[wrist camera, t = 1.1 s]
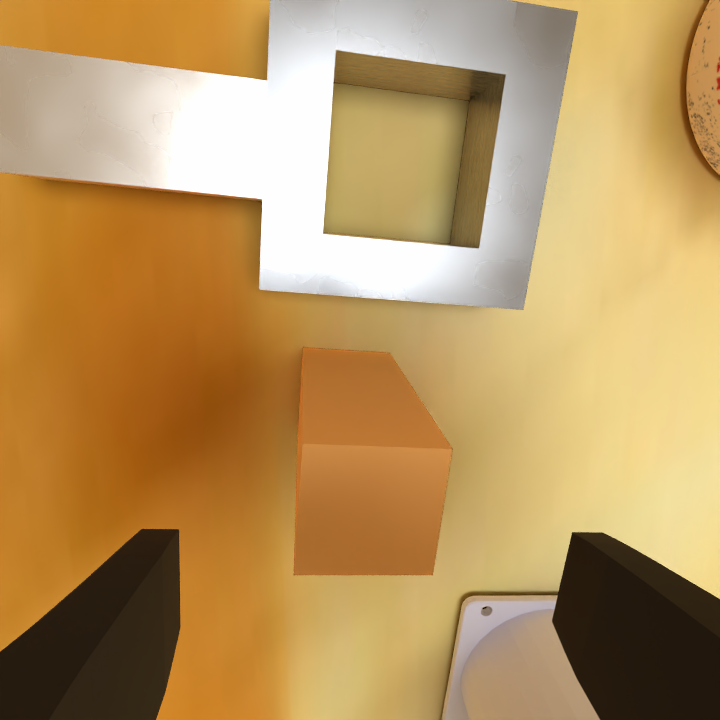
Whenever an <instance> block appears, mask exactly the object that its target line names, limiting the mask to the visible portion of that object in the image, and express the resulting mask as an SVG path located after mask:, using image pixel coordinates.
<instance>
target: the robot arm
mask: <svg viewBox="0 0 720 720" xmlns="http://www.w3.org/2000/svg"><path fill="white" fill-rule="evenodd" d="M486 606H488V607H487V608H486V609H482V608H484V607H486ZM179 631H180V569H179V529H141V530H140V531H139V532H138V533H137V534H136V535H134V536H133V537H132V538H131V539H130V540H129V541H128V542H126V543H125V544H124V545H123V546H122V547H121V548H120V549H119V550H118V551H116V552H115V553H114V554H113V555H112V556H111V557H110V558H109V559H108V560H107V561H106V562H104V563H103V564H102V565H101V566H100V567H99V568H98V569H97V570H96V571H95V572H93V573H92V574H91V575H90V576H89V577H88V578H87V579H86V580H85V581H83V582H82V583H81V584H80V585H79V586H78V587H77V588H76V589H74V590H73V591H72V592H71V593H70V594H69V595H67V596H66V597H65V598H64V599H63V600H62V601H61V602H59V603H58V604H57V605H56V606H55V607H54V608H53V609H51V610H50V611H49V612H48V613H47V614H46V615H44V616H43V617H42V618H41V619H40V620H39V621H38V622H36V623H35V624H34V625H33V626H32V627H30V628H29V629H28V630H27V631H26V632H24V633H23V634H22V635H21V636H19V637H18V638H17V639H16V640H14V641H13V642H12V643H11V644H9V645H8V646H7V647H6V648H4V649H3V650H2V651H1V652H0V720H156V718H157V715H158V712H159V709H160V706H161V703H162V700H163V697H164V694H165V691H166V687H167V683H168V679H169V675H170V670H171V666H172V662H173V658H174V653H175V649H176V644H177V640H178V636H179ZM442 720H720V599H719V598H717V597H715V596H714V595H712V594H710V593H708V592H707V591H705V590H703V589H702V588H700V587H698V586H697V585H695V584H693V583H691V582H690V581H688V580H686V579H685V578H683V577H681V576H680V575H678V574H676V573H675V572H673V571H671V570H669V569H668V568H666V567H664V566H663V565H661V564H659V563H658V562H656V561H654V560H652V559H651V558H649V557H647V556H645V555H644V554H642V553H640V552H638V551H637V550H635V549H633V548H631V547H630V546H628V545H626V544H624V543H622V542H620V541H618V540H616V539H614V538H612V537H610V536H608V535H606V534H604V533H589V532H572V536H571V540H570V545H569V549H568V553H567V558H566V562H565V566H564V570H563V575H562V579H561V583H560V588H559V592H558V595H527V596H470V597H468V598H466V599H465V601H464V602H463V604H462V608H461V613H460V619H459V624H458V630H457V636H456V641H455V647H454V652H453V658H452V664H451V669H450V675H449V680H448V686H447V692H446V697H445V703H444V708H443V714H442Z"/></svg>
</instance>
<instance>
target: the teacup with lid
mask: <svg viewBox="0 0 720 720" xmlns="http://www.w3.org/2000/svg"><path fill="white" fill-rule="evenodd" d="M686 95H687V108H688V115H689V120H690V124H691V128H692V131H693V134H694V137H695V140H696V142H697V144H698V146H699V148H700V151H701V152H702V154H703V155H704V157H705V159H706V160H707V162H708V163H709V164H710V166H711V167H712V168H713V169H714V170H715V171H716V172H717V173H718V174H719V175H720V0H710V1H709V3H708V5H707V7H706V9H705V11H704V13H703V15H702V18H701V20H700V23H699V25H698V28H697V31H696V34H695V37H694V41H693V44H692V48H691V53H690V58H689V63H688V71H687V85H686Z"/></svg>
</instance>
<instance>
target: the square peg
mask: <svg viewBox="0 0 720 720" xmlns="http://www.w3.org/2000/svg"><path fill="white" fill-rule="evenodd" d="M452 450H453V449H452V448H451V446H450V445H449V443H448V441H447V440H446V438H445V437H444V435H443V434H442V432H441V431H440V429H439V428H438V426H437V425H436V423H435V422H434V420H433V418H432V417H431V415H430V414H429V412H428V411H427V409H426V408H425V406H424V405H423V403H422V402H421V400H420V399H419V397H418V395H417V394H416V392H415V391H414V389H413V388H412V386H411V385H410V383H409V382H408V380H407V379H406V377H405V375H404V374H403V372H402V371H401V369H400V368H399V366H398V365H397V363H396V362H395V360H394V359H393V357H392V356H391V354H390V353H385V352H369V351H353V350H337V349H321V348H305V347H303V356H302V371H301V387H300V402H299V418H298V440H297V476H296V512H295V548H294V575H433V571H434V565H435V558H436V552H437V546H438V539H439V533H440V526H441V520H442V514H443V507H444V501H445V494H446V488H447V482H448V475H449V469H450V462H451V456H452Z"/></svg>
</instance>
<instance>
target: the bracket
mask: <svg viewBox="0 0 720 720" xmlns="http://www.w3.org/2000/svg"><path fill="white" fill-rule="evenodd" d="M577 14H578V12H577V11H571V10H565V9H559V8H553V7H547V6H541V5H535V4H529V3H523V2H517V1H510V0H270V18H269V44H268V70H267V81H265V80H258V79H250V78H243V77H235V76H228V75H220V74H213V73H205V72H198V71H190V70H183V69H175V68H168V67H160V66H153V65H145V64H138V63H130V62H122V61H115V60H107V59H100V58H92V57H85V56H77V55H70V54H62V53H55V52H47V51H40V50H32V49H25V48H17V47H10V46H2V45H0V173H7V174H13V175H19V176H26V177H32V178H39V179H46V180H56V181H66V182H76V183H86V184H96V185H106V186H116V187H126V188H135V189H145V190H155V191H165V192H175V193H185V194H195V195H205V196H215V197H225V198H235V199H245V200H255V201H262V227H261V253H260V279H259V290H271V291H284V292H297V293H310V294H323V295H336V296H349V297H362V298H375V299H388V300H401V301H414V302H427V303H440V304H453V305H466V306H479V307H492V308H505V309H517V310H523V309H524V303H525V298H526V292H527V287H528V281H529V276H530V270H531V265H532V259H533V254H534V249H535V243H536V238H537V232H538V227H539V221H540V216H541V210H542V205H543V199H544V194H545V189H546V183H547V178H548V172H549V167H550V161H551V156H552V150H553V145H554V139H555V134H556V129H557V123H558V118H559V112H560V107H561V101H562V96H563V90H564V85H565V79H566V74H567V69H568V63H569V58H570V52H571V47H572V41H573V36H574V30H575V25H576V19H577ZM333 82H336V83H344V84H351V85H359V86H366V87H373V88H381V89H388V90H396V91H403V92H410V93H418V94H425V95H433V96H440V97H447V98H455V99H462V100H470V101H469V109H468V116H467V123H466V130H465V138H464V145H463V152H462V159H461V167H460V174H459V181H458V188H457V195H456V203H455V210H454V217H453V224H452V232H451V239H450V244H445V243H434V242H424V241H413V240H402V239H392V238H381V237H371V236H360V235H349V234H339V233H328V232H323V224H324V209H325V195H326V181H327V167H328V153H329V139H330V125H331V110H332V96H333Z"/></svg>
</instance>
